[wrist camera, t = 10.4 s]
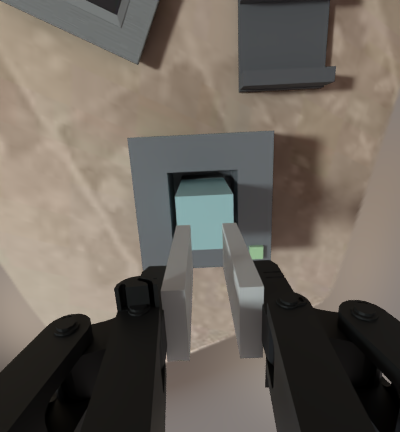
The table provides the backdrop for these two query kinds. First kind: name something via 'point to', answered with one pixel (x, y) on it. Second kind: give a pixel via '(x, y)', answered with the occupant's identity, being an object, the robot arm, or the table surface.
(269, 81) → the grey u-channel bracket
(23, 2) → the electrical outlet
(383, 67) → the table surface
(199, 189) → the plug
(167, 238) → the port block
